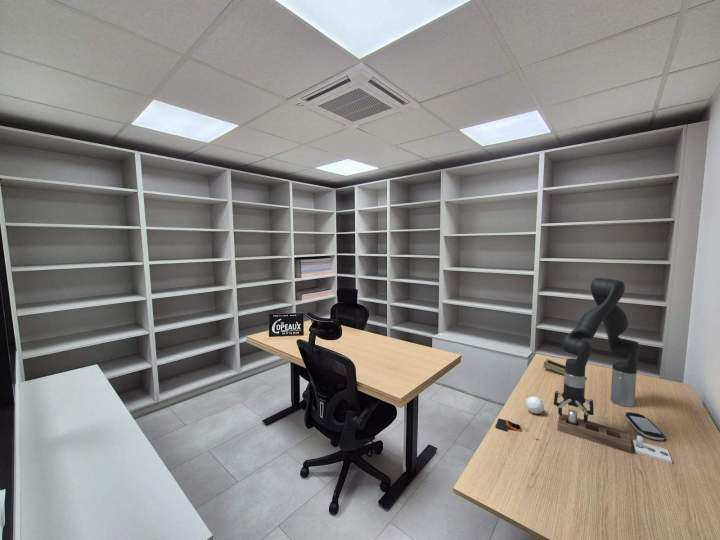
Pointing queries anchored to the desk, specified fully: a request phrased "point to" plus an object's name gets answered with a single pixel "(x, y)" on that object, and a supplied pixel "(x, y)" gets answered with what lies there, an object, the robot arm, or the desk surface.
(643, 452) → the white plate with peg
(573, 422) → the steel pin
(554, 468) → the desk surface
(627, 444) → the pin board
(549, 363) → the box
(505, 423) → the multimeter
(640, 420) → the gaming console
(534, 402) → the geometric ball
